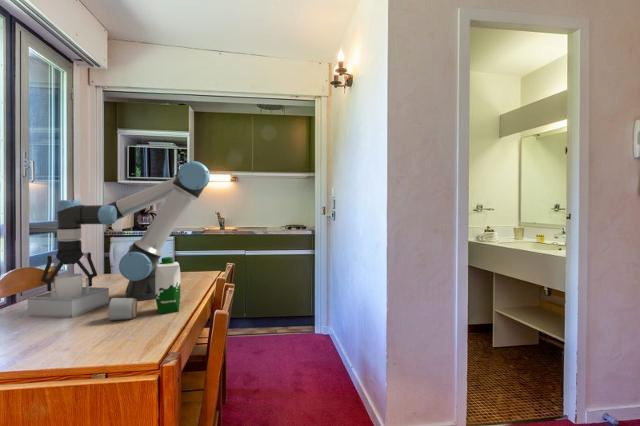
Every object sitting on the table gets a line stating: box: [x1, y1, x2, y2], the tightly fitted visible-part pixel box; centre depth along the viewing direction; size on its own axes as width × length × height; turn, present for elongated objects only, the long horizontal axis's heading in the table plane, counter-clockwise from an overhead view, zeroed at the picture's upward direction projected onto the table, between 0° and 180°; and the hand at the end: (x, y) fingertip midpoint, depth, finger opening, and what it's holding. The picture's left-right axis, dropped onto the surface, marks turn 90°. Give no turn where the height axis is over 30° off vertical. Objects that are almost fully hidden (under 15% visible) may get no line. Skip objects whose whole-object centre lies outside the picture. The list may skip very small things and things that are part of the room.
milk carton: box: [155, 256, 181, 315], centre depth 134 cm, size 9×9×20 cm
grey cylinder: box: [107, 297, 138, 321], centre depth 126 cm, size 11×8×8 cm
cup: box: [53, 273, 84, 299], centre depth 135 cm, size 9×9×12 cm
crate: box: [27, 286, 110, 319], centre depth 136 cm, size 18×18×7 cm
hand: (70, 297), depth 135 cm, fingers open, 10 cm apart
